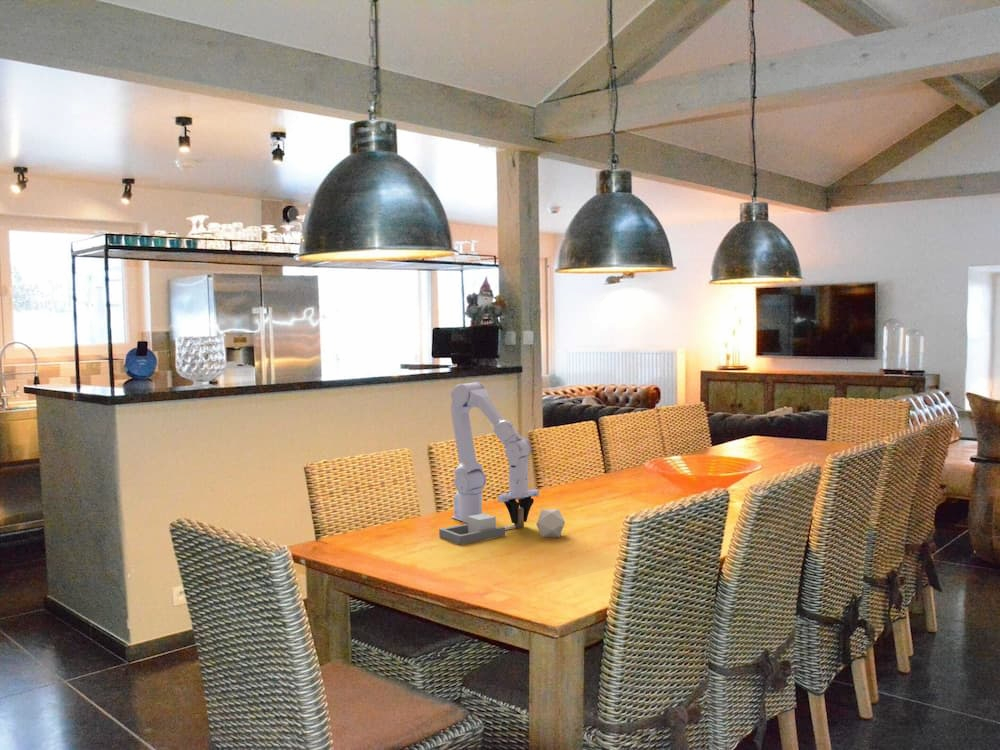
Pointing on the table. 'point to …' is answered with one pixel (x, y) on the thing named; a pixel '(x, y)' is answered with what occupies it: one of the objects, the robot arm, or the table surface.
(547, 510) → the die
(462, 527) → the dark grey tray
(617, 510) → the table surface
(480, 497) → the robot arm
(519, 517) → the tethered block
